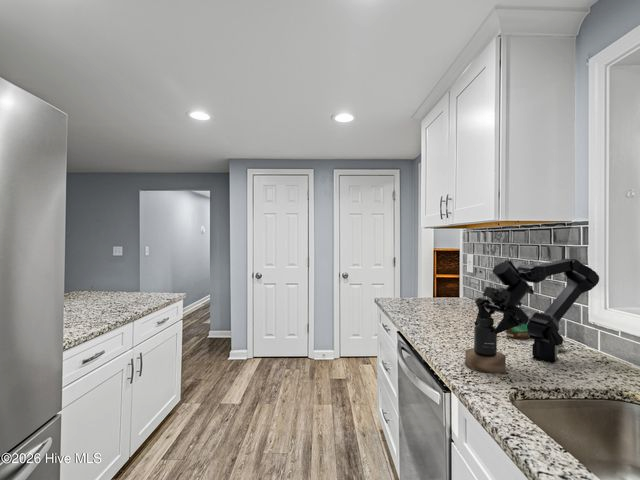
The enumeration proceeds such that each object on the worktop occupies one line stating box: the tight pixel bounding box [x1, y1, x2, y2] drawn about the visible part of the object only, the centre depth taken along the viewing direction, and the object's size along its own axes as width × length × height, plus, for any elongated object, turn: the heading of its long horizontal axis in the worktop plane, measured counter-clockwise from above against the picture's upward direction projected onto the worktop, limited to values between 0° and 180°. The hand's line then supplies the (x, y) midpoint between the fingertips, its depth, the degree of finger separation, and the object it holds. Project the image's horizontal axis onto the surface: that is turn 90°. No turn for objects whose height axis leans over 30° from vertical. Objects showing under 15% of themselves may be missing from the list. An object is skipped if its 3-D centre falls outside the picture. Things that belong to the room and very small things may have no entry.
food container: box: [505, 312, 532, 340], centre depth 145 cm, size 12×6×10 cm, turn 105°
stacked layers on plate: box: [557, 335, 565, 354], centre depth 129 cm, size 10×9×6 cm
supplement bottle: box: [473, 317, 498, 357], centre depth 113 cm, size 7×7×12 cm
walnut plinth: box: [464, 347, 507, 374], centre depth 113 cm, size 12×12×4 cm
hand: (485, 329), depth 113 cm, fingers open, 9 cm apart
